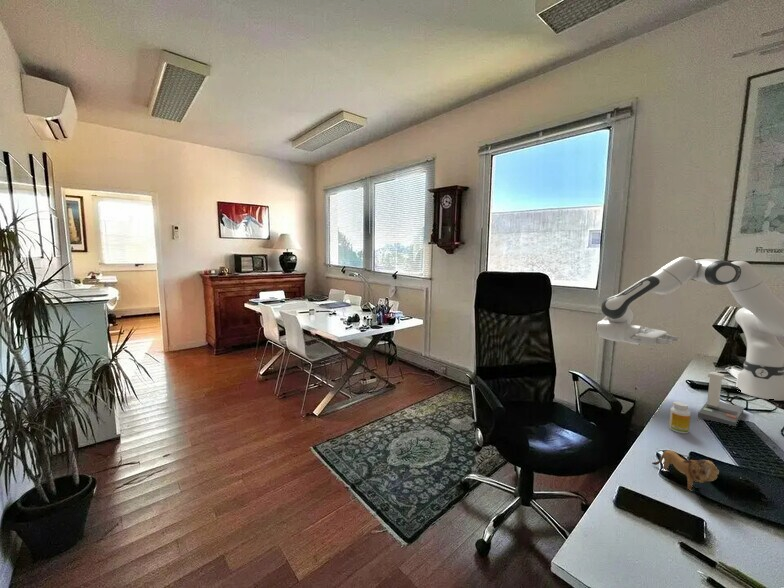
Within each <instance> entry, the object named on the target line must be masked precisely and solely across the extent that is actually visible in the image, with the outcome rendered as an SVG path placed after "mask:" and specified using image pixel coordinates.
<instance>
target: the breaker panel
mask: <svg viewBox="0 0 784 588" xmlns="http://www.w3.org/2000/svg"><path fill="white" fill-rule="evenodd" d="M744 410H745V407H743V406H739V405H734V404H731V403H726V402H722V401H719V407H718V409H716V408H712V407H708V406H707V401H706V402H705V403H704V405H703V406H702V407H701V409H700V410H699V411H698V412H697V418H698V419H702V420H706V421H709V420H711V421H710V422H712V421H716V422H721V423H725V424H729V425H733V426H736V427H737V425H738V423H739V421H740V419H741V418H742V415H743V414H744ZM738 420H739V421H738ZM716 422H715V423H716ZM737 422H738V423H737ZM736 424H737V425H736Z"/></svg>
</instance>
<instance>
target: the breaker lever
mask: <svg viewBox="0 0 784 588" xmlns="http://www.w3.org/2000/svg"><path fill="white" fill-rule="evenodd" d="M707 378H709V382H708V391H707V400H706V402H707V406H708V407H712V408H716V409H718V407H719V402H720V398H721V392H722V391H721V390H722V383H723V380H724V379H725V374H724V373H720V372H716V371H715V372H714V371H709V372H708V373H707Z"/></svg>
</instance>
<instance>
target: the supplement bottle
mask: <svg viewBox="0 0 784 588" xmlns="http://www.w3.org/2000/svg"><path fill="white" fill-rule="evenodd" d="M668 419H669V420H668V428H669V430H671V431H673V432H675V433H679V434H688V433H689V432H690V421H691V412H690V411H689V404H687V403H685V402H683V401H678V400H676V401H673V406H672V407H670V410H669V418H668Z"/></svg>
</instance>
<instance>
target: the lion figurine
mask: <svg viewBox="0 0 784 588" xmlns="http://www.w3.org/2000/svg"><path fill="white" fill-rule="evenodd" d="M662 461H663V462H662ZM661 462H662V465H663V464H664V467H663V466H662V468H663V469H662V470H664V469H665V470H667V468H668V469H669V467H670V465H673V467H674V468H675V469H676V470H677V471H678V472H679V473H681V474H683V475H685V476H686V480H687V490H688V489H689V490H690V491H689V490H688V491H689V492H691V491H692V490H691V488H692V487H693V486H692V485H693V481H695V482H697V483H701V484H703V483H706V482H713V481H715V480H717V478H718V475H719V473H720V470H719V469H718V468H717V466H716V465H715V464H714V463H713V461H712V460H709V459H698V460H694V459H688V460H686V459H684V458H683V457H682V456H680V455H679V454H678V453H677V452H676V451H673V450H670V449H667V450H664V451H663V453H662V454H661V457H660V459H659V460H658V461H654V462H651V464H652V465H654V466H656V465H657V466H658V465H660V463H661ZM667 471H668V470H667Z"/></svg>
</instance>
